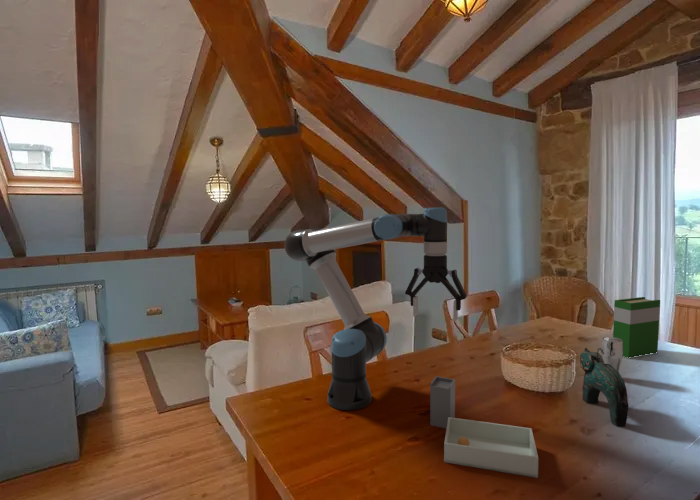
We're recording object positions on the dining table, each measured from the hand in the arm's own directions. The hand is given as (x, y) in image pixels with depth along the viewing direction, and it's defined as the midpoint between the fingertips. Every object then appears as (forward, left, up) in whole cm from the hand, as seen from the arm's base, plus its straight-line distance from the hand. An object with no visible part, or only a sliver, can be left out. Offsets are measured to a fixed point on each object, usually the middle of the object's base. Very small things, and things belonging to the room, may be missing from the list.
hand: (435, 317), depth 135 cm
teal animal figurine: (+52, +7, -29) cm, 60 cm away
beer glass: (+62, +37, -29) cm, 78 cm away
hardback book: (+80, +70, -29) cm, 110 cm away
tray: (+17, -27, -29) cm, 43 cm away
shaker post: (+4, -14, -29) cm, 32 cm away
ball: (+11, -29, -26) cm, 40 cm away
